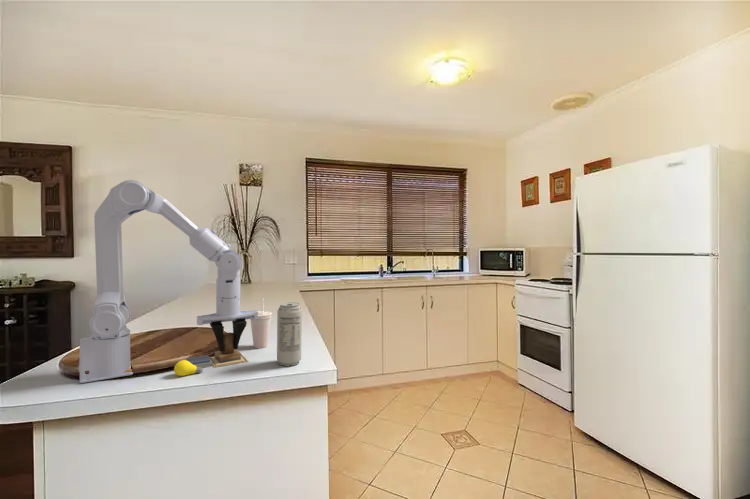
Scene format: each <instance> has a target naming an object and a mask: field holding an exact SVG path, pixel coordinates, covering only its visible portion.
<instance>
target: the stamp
mask: <svg viewBox="0 0 750 499" xmlns="http://www.w3.org/2000/svg"><path fill="white" fill-rule="evenodd" d="M241 354H242V353H241V352H239V350H238V349H234V333H233V332H223V351H222V352H220V351H219V350H217V351H214V356H215V358H216V359H217V360H218V361H219V362H220V363H225V362H230V361H235V360H241Z"/></svg>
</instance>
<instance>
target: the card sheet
mask: <svg viewBox="0 0 750 499" xmlns="http://www.w3.org/2000/svg"><path fill="white" fill-rule="evenodd" d="M209 358H210V359H211V361H212V362H213V366H212V367H214V368H220V367H225V366H230V365H231V366H232V365H237V364H244V363H248V362H249V360H248V358H246V357H245V356H244V355H243V354H242V353H241V360H235V361H230V362H225V363H220V362H219V361H218V360H217V359H216V358H215V355H214V356H209Z"/></svg>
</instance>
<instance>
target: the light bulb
mask: <svg viewBox="0 0 750 499" xmlns="http://www.w3.org/2000/svg"><path fill="white" fill-rule="evenodd" d="M173 370H174V373H175V375H177V377H185V376H189V375H194V374H202V373H203V370H204V368H201V367H196V365H193V364H191V363H190V362H189V361H186V360H184V359H182V360H179V361H178V362H176V364H175V365H174V368H173Z"/></svg>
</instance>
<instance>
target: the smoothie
mask: <svg viewBox="0 0 750 499" xmlns="http://www.w3.org/2000/svg"><path fill="white" fill-rule="evenodd" d="M264 301H265V298H264V297H262V298H261V310H259V311H258V319H249V320H250V327H251V335H252V344H253V348H254V349H265V348H267V347H268V342H269V335H270V326H271V320H272V319H271V318H272V317H273V312H271V311H268V310H265V311H264V309H265V303H264Z"/></svg>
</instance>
